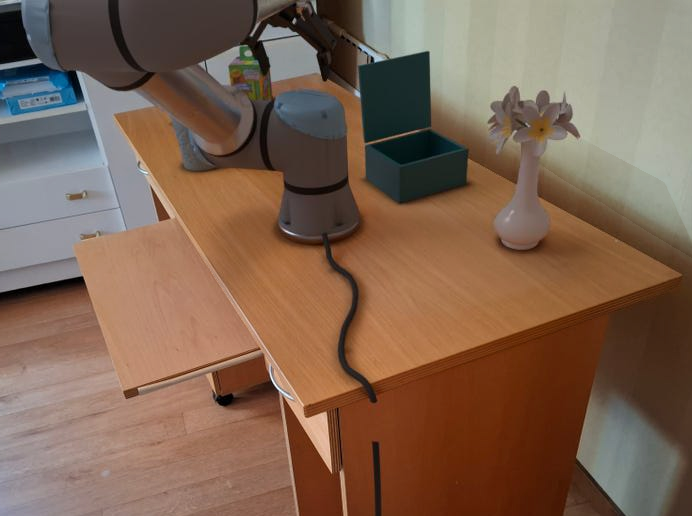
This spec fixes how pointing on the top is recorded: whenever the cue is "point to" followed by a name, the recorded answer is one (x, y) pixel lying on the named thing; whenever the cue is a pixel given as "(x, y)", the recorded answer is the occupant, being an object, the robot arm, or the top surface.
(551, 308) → the top surface
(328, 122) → the robot arm
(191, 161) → the grey cup
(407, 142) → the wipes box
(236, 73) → the chalk box
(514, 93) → the flower vase
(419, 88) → the teal box lid
